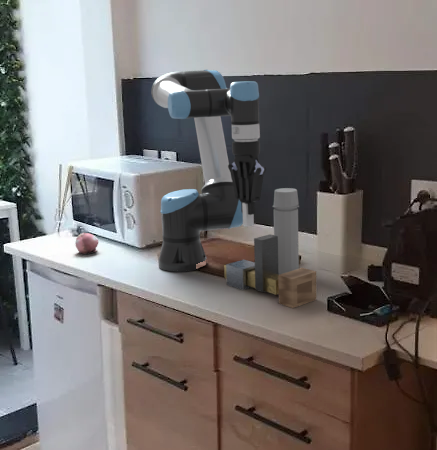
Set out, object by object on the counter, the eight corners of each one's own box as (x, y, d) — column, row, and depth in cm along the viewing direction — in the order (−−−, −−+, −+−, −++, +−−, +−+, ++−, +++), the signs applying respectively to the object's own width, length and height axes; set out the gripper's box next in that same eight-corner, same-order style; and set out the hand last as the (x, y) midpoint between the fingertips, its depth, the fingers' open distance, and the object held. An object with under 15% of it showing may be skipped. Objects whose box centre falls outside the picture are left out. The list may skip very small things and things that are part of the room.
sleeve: (226, 284, 205) (226, 264, 203) (244, 279, 209) (243, 259, 208) (243, 290, 200) (242, 269, 198) (261, 284, 204) (260, 264, 202)
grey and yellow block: (222, 279, 207) (220, 230, 203) (237, 274, 210) (236, 226, 207) (273, 295, 191) (272, 242, 188) (289, 290, 195) (288, 238, 191)
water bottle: (298, 276, 209) (297, 192, 204) (272, 276, 211) (270, 192, 205) (301, 267, 218) (300, 186, 212) (275, 267, 220) (274, 186, 214)
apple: (73, 256, 244) (69, 235, 245) (93, 254, 249) (89, 233, 250) (84, 253, 238) (81, 231, 239) (104, 250, 243) (101, 229, 244)
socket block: (278, 303, 188) (278, 275, 186) (302, 295, 193) (302, 267, 192) (292, 308, 184) (292, 279, 182) (316, 299, 190) (316, 271, 188)
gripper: (219, 139, 195) (222, 224, 201) (252, 142, 186) (254, 231, 191) (240, 137, 200) (242, 219, 205) (272, 139, 190) (274, 226, 196)
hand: (248, 225), depth 198 cm, fingers closed
